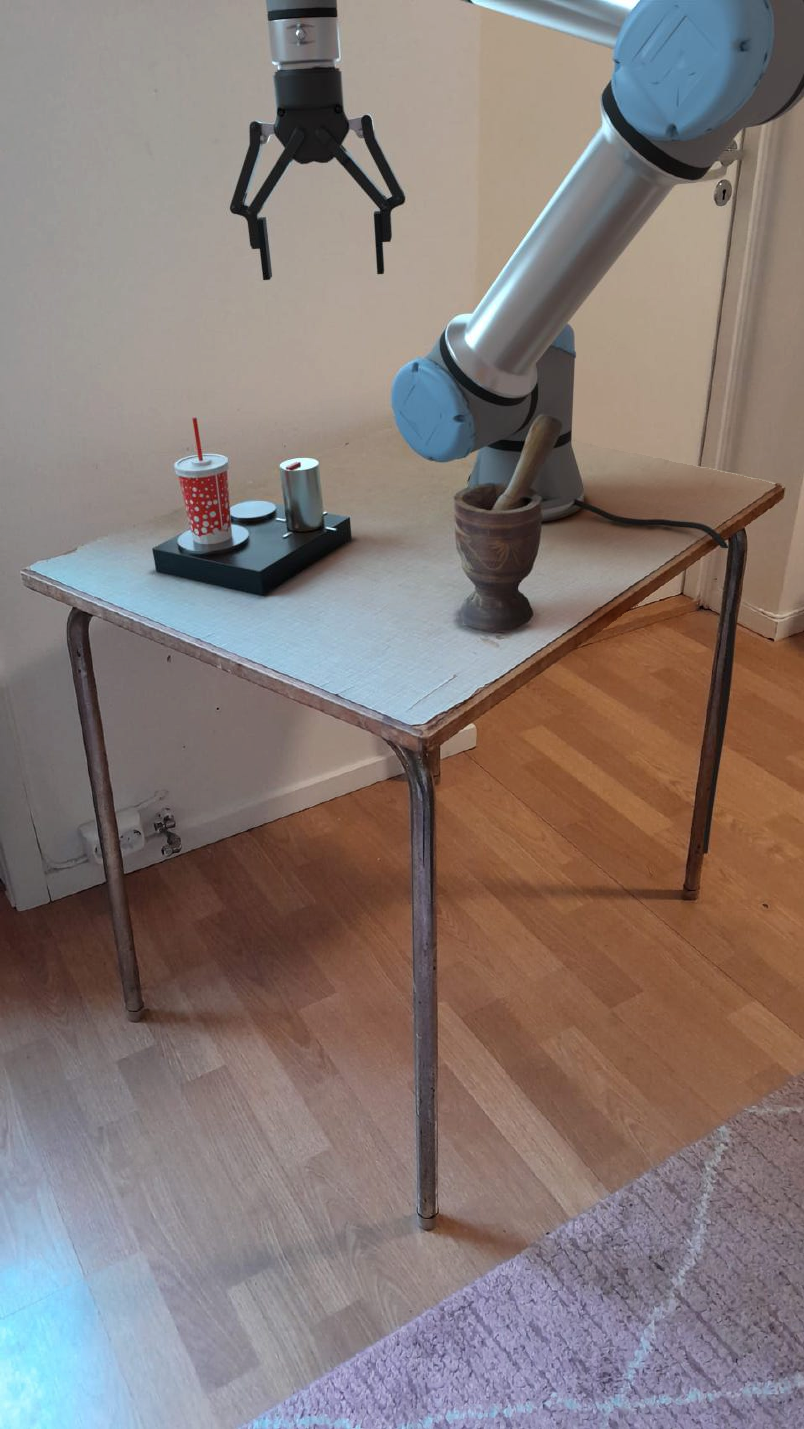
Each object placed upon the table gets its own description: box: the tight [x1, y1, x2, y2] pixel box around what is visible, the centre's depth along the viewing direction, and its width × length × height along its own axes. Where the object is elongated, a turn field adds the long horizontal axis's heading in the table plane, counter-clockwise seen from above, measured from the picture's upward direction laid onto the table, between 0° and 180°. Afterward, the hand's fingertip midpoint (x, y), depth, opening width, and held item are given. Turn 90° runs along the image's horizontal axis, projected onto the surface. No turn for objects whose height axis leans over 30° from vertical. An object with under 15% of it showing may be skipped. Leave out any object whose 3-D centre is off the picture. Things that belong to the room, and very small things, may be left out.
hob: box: [151, 498, 353, 597], centre depth 125 cm, size 17×18×3 cm
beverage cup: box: [173, 416, 232, 544], centre depth 119 cm, size 6×6×14 cm
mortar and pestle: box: [452, 413, 562, 633], centre depth 105 cm, size 12×9×20 cm
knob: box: [279, 457, 325, 532], centre depth 124 cm, size 5×5×8 cm
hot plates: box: [177, 500, 277, 556], centre depth 126 cm, size 9×16×1 cm, turn 149°
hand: (324, 275), depth 125 cm, fingers open, 13 cm apart
